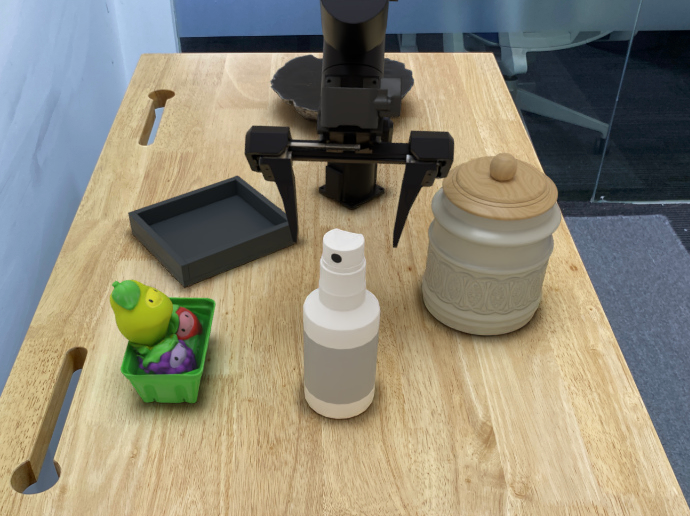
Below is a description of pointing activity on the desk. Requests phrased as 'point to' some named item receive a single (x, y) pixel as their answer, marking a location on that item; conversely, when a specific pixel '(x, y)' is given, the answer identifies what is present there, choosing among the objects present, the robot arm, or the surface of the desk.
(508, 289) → the jar
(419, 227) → the desk surface
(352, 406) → the spray bottle
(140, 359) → the fruit basket
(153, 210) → the tray
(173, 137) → the desk surface
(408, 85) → the bowl
